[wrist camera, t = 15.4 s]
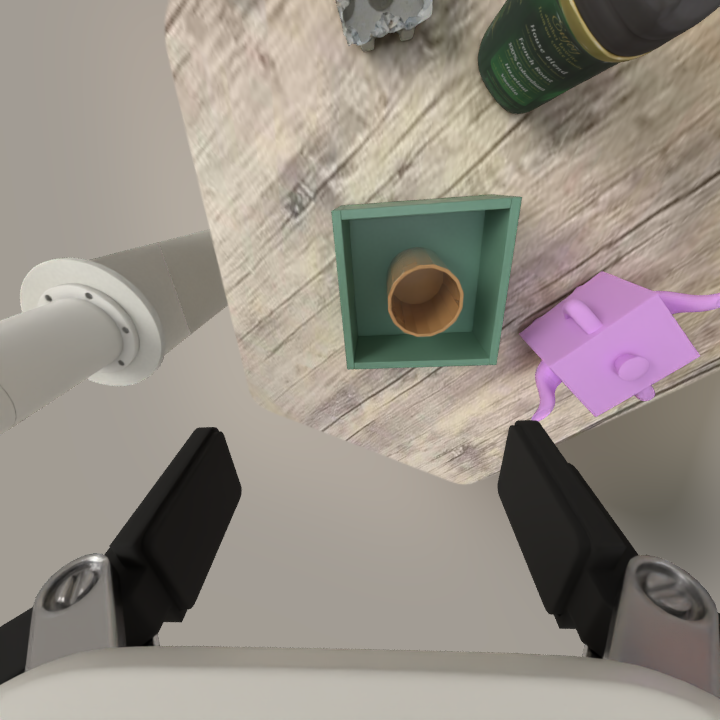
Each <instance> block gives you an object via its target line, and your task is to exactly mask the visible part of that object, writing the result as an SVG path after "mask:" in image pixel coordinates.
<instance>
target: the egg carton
mask: <svg viewBox="0 0 720 720" xmlns="http://www.w3.org/2000/svg"><path fill="white" fill-rule="evenodd" d="M336 4H337V8H338V12H339V15H340V19H341V22H342V27H343V32H344V36H346V39H347V42H348V46H350V45H351V44H357V45H360V47H361V49H362V51H363V52H365V51H369V50H373V49H374V42H375V38H376V37H378V38H379V37H383V36H385V35H386V34H387V33H393V32H397V33H398V34H399V36H400V39H401V41H405V40H408V39H411V38H413V35H414V30H415V26H416V25H418V24H419V23H421V22H423V21H424V20H426V19H427V18H428V17H430V16H431V14H432V4H433V0H336Z"/></svg>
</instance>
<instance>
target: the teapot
mask: <svg viewBox="0 0 720 720" xmlns="http://www.w3.org/2000/svg"><path fill="white" fill-rule="evenodd" d="M717 308H720V293H717V294H711V295H689V294H682V293H676V292H668V291H652V290H649V289H647V288H644V287H641V286H639V285H636V284H634V283H631V282H629V281H626V280H623V279H621V278H618V277H616V276H613V275H611V274H608V273H605V272H603V271H601V272H600V273H598V274H597V275H596V276H594V277H593V278H592V279H591V280H589V281H588V282H587V283H585V284H584V285H582V286H579V287H577V288H576V289H575V290H574V291H573V292H572V294H571V295H569V296H568V297H567V298H565V299H564V300H563V301H561V302H560V303H559V304H557V305H556V306H555V307H554V308H552V309H551V310H550V311H548V312H547V313H546V314H544V315H543V316H542V317H539V318H537V319H535V320H534V321H533V322H532V324H531V325H530V326H529V327H527V328H526V329H525V330H523V331H522V332H521V333H519V335H520V336H521V337H522V339H523V340H524V341H525V342H526V343H527V344H528V345H529V346H530V347H531V348H532V349H533V350H534V352H535V353H536V354H537V355H538V356H539V357H540V358H541V359H542V361H541V362H540V364H539V365H538V367H537V370H536V374H535V380H536V385H537V388H538V392H539V396H540V404H539V407H538V409H537V411H536V412H535V414H534V415H533V417H532V420H536V421H540V420H542V419H544V418H545V417H547V416H548V415H549V414H550V413H551V412H552V410H553V408H554V405H555V390H556V388H557V386H558V385H559V384H560V383H561V382H563V383H564V384H565V385H566V386H567V387H568V388H569V389H570V390H571V391H572V393H573V394H574V395H575V396H576V397H577V398H578V399H579V400H580V401H581V402H582V403H583V404H584V405H585V407H586V408H587V409H588V410H589V411H590V412H591V413H592V414H593V415H594V416H595V417H596V416H598V415H600V414H602V413H604V412H605V411H607V410H609V409H611V408H612V407H614V406H616V405H618V404H619V403H621V402H623V401H625V400H626V399H628V398H630V397H632V396H633V395H635V396H636V397H637V398H638V399H640V400H642V401H649V400H651V399H652V398H653V397H654V396H655V391H654V389H653V387H652V386H651V385H652V384H654V383H656V382H657V381H659V380H661V379H663V378H664V377H666V376H668V375H669V374H671V373H673V372H674V371H676V370H678V369H680V368H681V367H683V366H685V365H686V364H688V363H690V362H691V361H693V360H695V359H696V358H698V357H699V356H700V355H699V353H698V352H697V350H696V349H695V347H694V346H693V345H692V343H691V342H690V340H689V339H688V337H687V336H686V334H685V333H684V332H683V330H682V329H681V327H680V326H679V324H678V323H677V321H676V320H675V318H674V317H673V316H672V314H674V313H681V312H702V311H708V310H713V309H717Z"/></svg>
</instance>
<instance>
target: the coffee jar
mask: <svg viewBox="0 0 720 720" xmlns="http://www.w3.org/2000/svg"><path fill="white" fill-rule="evenodd" d="M719 6H720V0H507V1H506V2H505V4H504V5H503V7H502V8H501V10H500V11H499V13H498V14H497V16H496V17H495V19H494V20H493V22H492V23H491V25H490V26H489V28H488V29H487V31H486V33H485V35H484V37H483V39H482V42H481V45H480V49H479V54H478V66H479V71H480V75H481V77H482V80H483V81H484V83H485V85H486V87H487V89H488V90H489V92H490V93H491V95H492V96H493V97H494V99H495V100H496V101H497V102H498V103H499V104H500V105H501V106H502V107H503V108H504V109H505V110H507V111H509V112H511V113H516V114H521V113H526V112H529V111H531V110H533V109H535V108H537V107H539V106H541V105H543V104H544V103H546V102H548V101H550V100H552V99H553V98H555V97H557V96H559V95H560V94H562V93H564V92H566V91H568V90H569V89H571V88H573V87H575V86H577V85H578V84H580V83H582V82H584V81H586V80H588V79H590V78H592V77H594V76H596V75H598V74H599V73H601V72H603V71H605V70H607V69H608V68H610V67H612V66H614V65H616V64H618V63H620V62H625V61H629V60H632V59H635V58H638V57H641V56H644V55H646V54H648V53H650V52H651V51H653V50H655V49H656V48H658V47H660V46H662V45H663V44H665V43H666V42H668V41H670V40H671V39H673V38H675V37H676V36H678V35H680V34H682V33H683V32H685V31H686V30H688V29H690V28H692V27H693V26H695V25H696V24H698V23H699V22H701V21H702V20H703V19H705V18H706V17H707V16H709V15H710V14H711V13H712V12H713V11H715V10H716V9H717V8H718V7H719Z"/></svg>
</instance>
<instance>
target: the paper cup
mask: <svg viewBox="0 0 720 720" xmlns="http://www.w3.org/2000/svg"><path fill="white" fill-rule="evenodd" d="M386 282H387V300H388V312H389V314H390V316H391V318H392V320H393V323H394V324H395V325H396V326H397V327H398V328H400V329H401V330H402V331H403V332H404V333H407V334H410V335H413V336H416V337H426V336H433V335H436V334H438V333H441V332H443V331H445V330H446V329H447V328H449V327H450V326H451V325H452V324H453V323H454V322H455V321H456V320H457V318H458V316H459V314H460V312H461V310H462V308H463V298H464V293H463V290H462V287H461V284H460V281H459V279H458V278H457V277H456V276H455V275H454V273H453V272H452V271H451V270H450V269H449V267H448V266H447V265H446V264H445V263H444V261H443V260H442V259H441V258H440V257H439V256H438V255H437V254H436V253H435V252H434V251H432V250H430V249H427V248H423V247H412V248H408V249H406V250H404V251H402V252H400V253H399V254H398V255H397V256H396V257H395V258H394V259H393V260H392V261H391V263H390V265H389V267H388V270H387V273H386Z"/></svg>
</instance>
